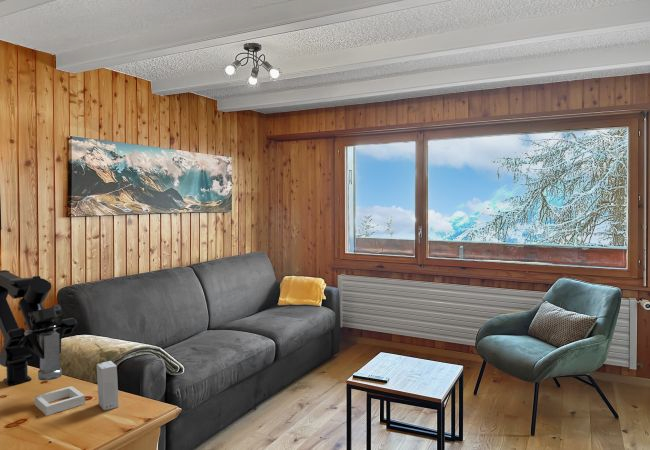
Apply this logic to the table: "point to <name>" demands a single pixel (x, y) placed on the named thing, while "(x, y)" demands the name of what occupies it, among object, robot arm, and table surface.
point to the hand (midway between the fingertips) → (51, 355)
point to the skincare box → (107, 385)
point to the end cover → (50, 356)
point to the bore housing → (49, 409)
